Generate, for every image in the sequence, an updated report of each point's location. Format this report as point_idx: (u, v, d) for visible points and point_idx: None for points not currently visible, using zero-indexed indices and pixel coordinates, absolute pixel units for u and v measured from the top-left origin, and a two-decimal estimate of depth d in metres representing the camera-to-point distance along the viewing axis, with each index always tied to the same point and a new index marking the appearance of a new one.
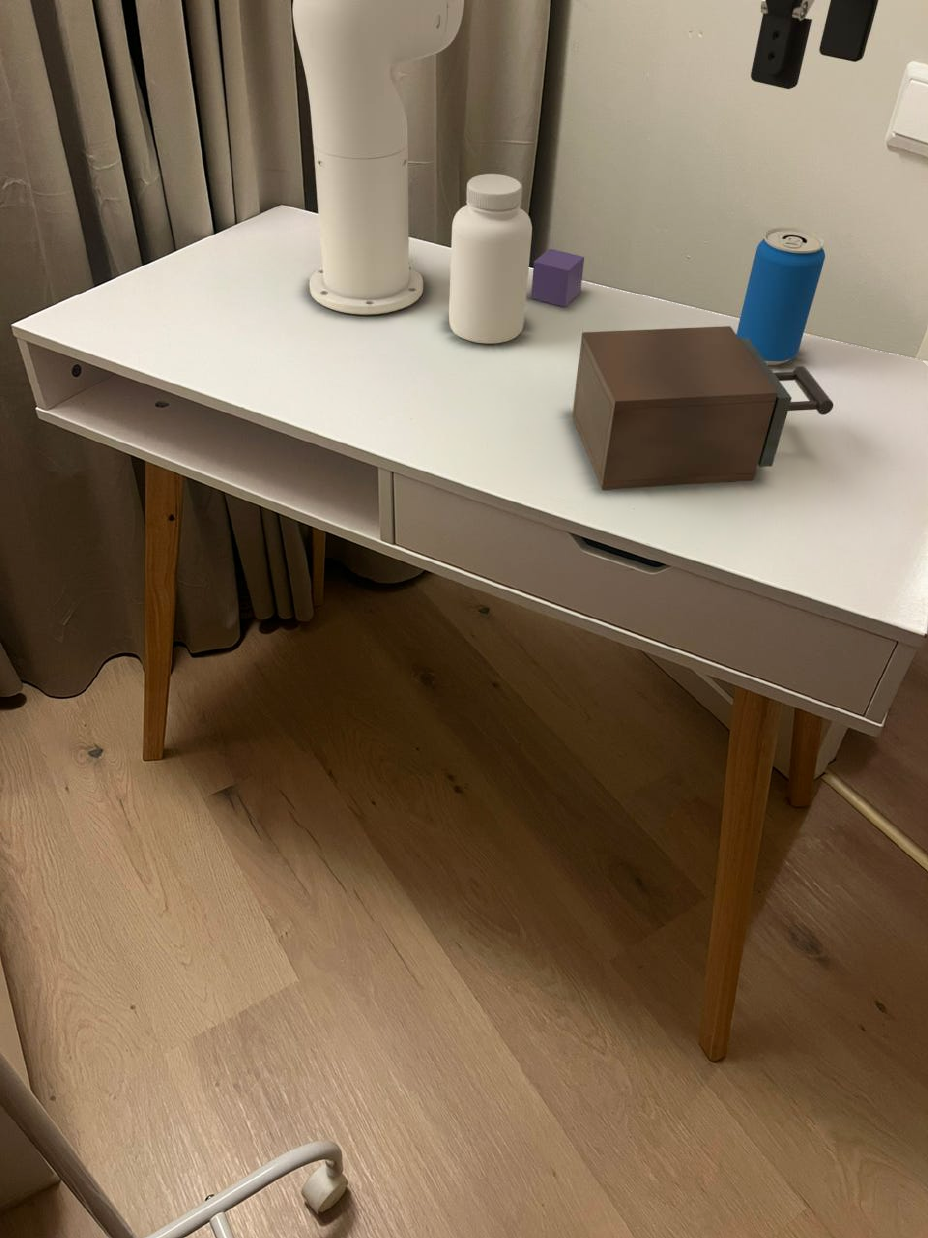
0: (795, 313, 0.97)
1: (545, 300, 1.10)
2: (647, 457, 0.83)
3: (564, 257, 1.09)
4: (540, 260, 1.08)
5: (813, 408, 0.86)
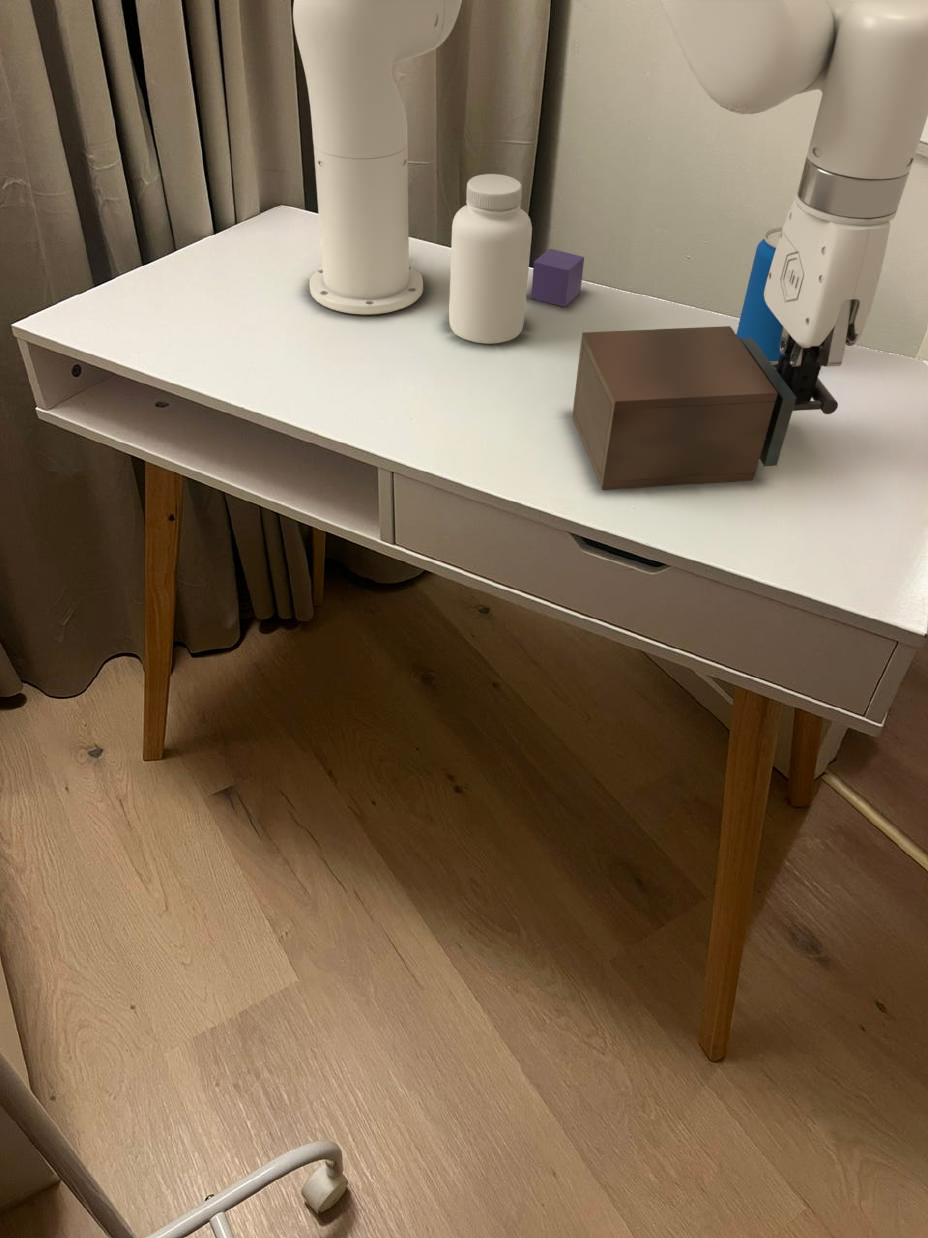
0: None
1: (545, 300, 1.10)
2: (647, 457, 0.83)
3: (564, 257, 1.09)
4: (540, 260, 1.08)
5: (818, 408, 0.86)
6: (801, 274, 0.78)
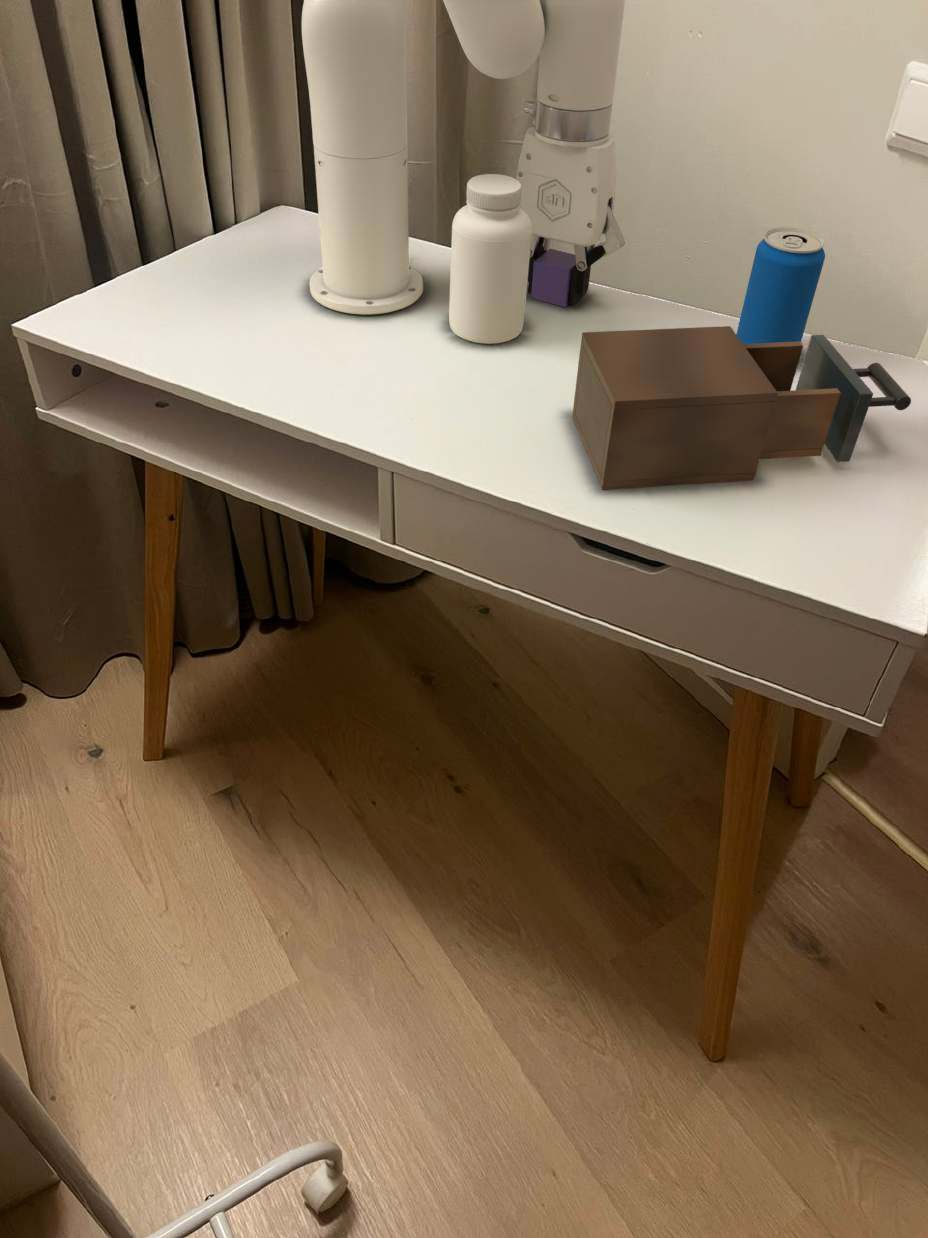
0: (795, 313, 0.97)
1: (545, 300, 1.10)
2: (647, 457, 0.83)
3: (564, 257, 1.09)
4: (540, 260, 1.08)
5: (891, 404, 0.86)
6: (567, 194, 1.01)
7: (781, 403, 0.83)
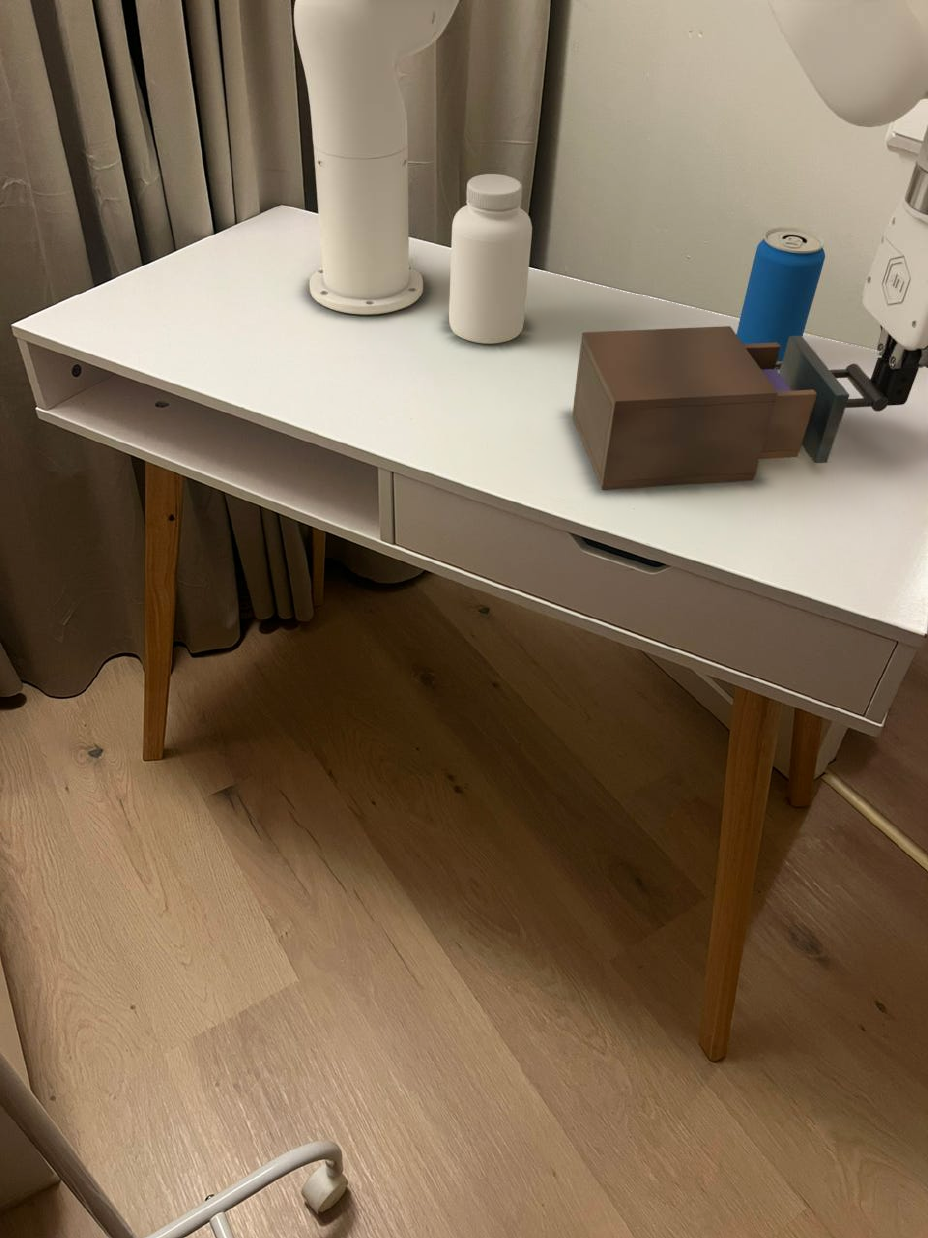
0: (795, 313, 0.97)
1: None
2: (647, 457, 0.83)
3: None
4: None
5: (868, 405, 0.86)
6: (907, 278, 0.80)
7: None
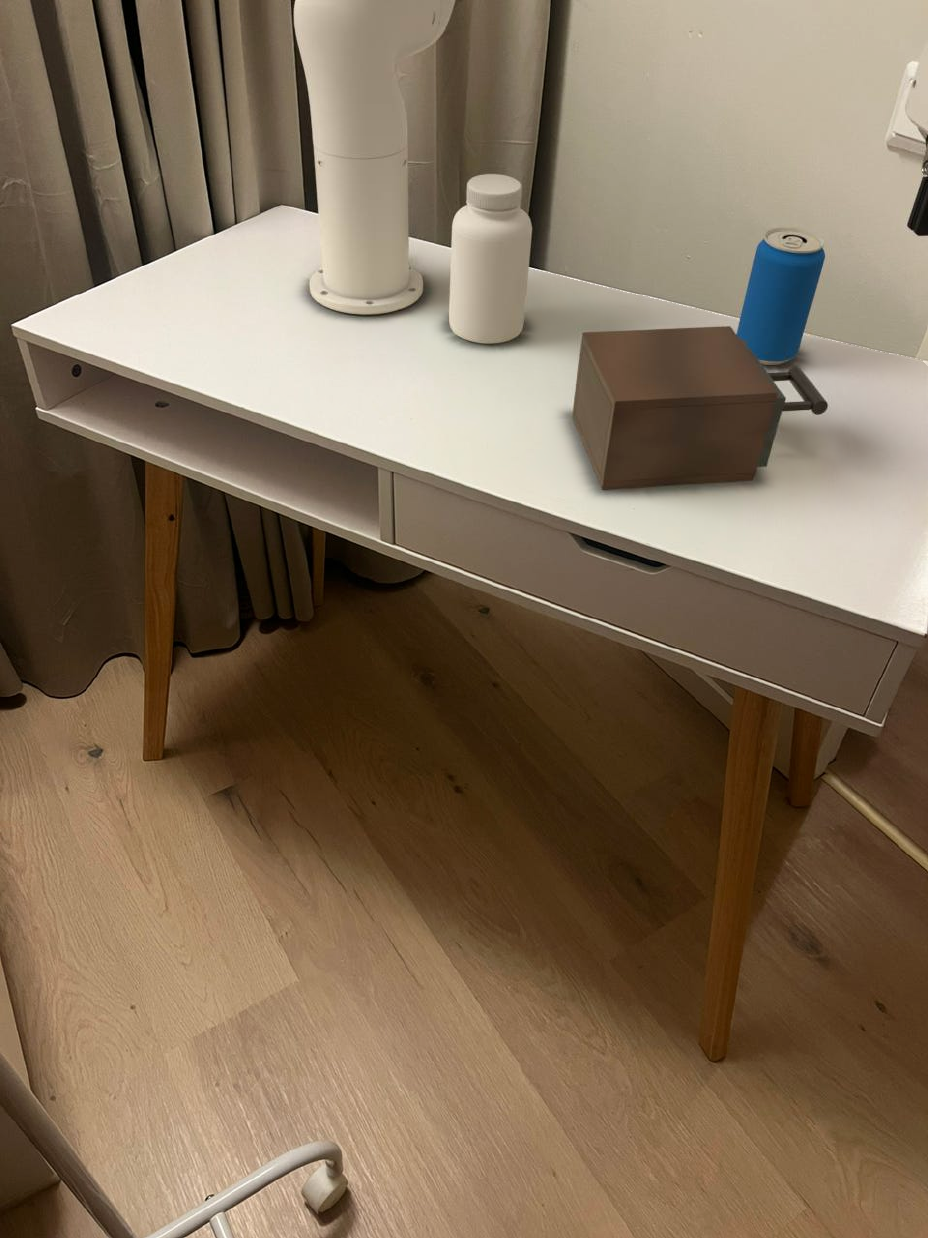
0: (795, 313, 0.97)
1: None
2: (647, 457, 0.83)
3: None
4: None
5: (808, 408, 0.86)
6: None
7: None
